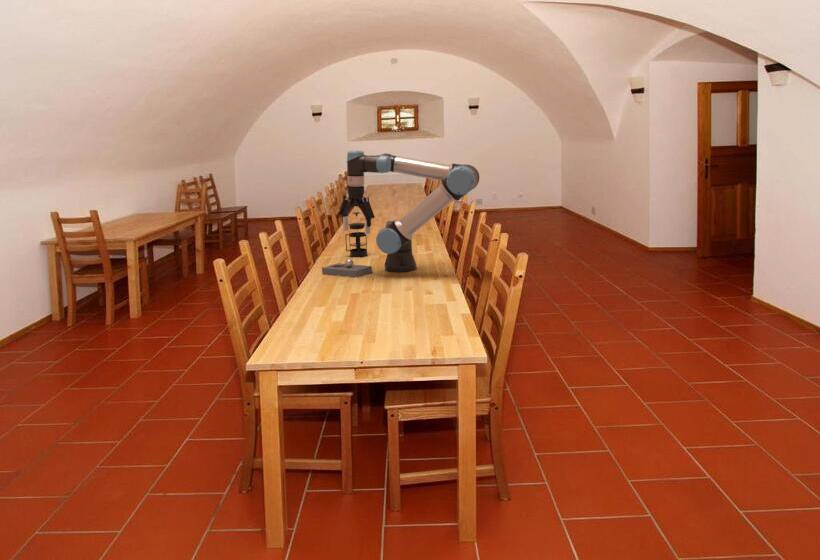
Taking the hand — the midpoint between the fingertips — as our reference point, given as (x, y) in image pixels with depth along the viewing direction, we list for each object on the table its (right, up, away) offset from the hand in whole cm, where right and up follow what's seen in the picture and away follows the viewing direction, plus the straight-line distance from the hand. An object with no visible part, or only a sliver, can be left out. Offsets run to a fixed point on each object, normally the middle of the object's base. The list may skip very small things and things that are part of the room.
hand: (356, 232), depth 334 cm
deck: (-5, -19, +8) cm, 21 cm away
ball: (-4, -14, +6) cm, 16 cm away
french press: (-3, -9, +51) cm, 52 cm away
